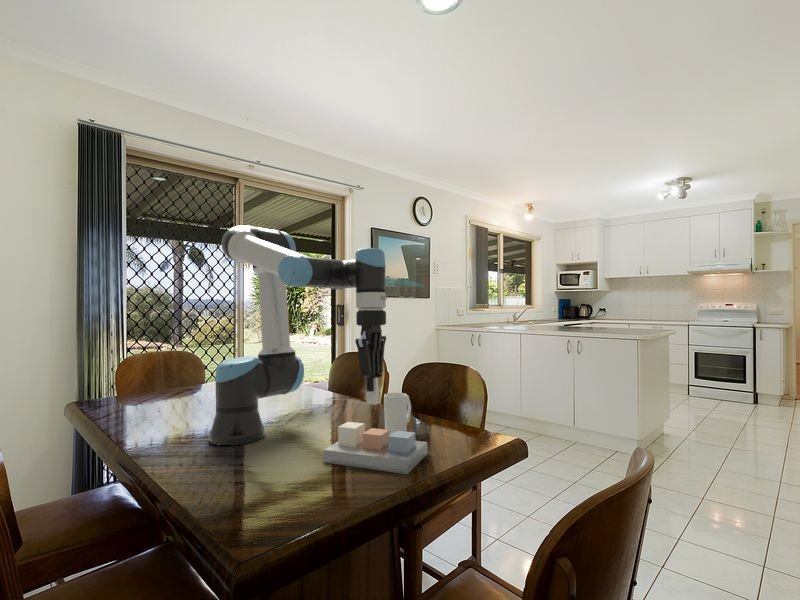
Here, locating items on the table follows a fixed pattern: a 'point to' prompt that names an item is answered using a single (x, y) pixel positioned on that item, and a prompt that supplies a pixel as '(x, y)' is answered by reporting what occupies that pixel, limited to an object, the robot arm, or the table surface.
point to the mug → (396, 412)
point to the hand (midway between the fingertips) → (372, 403)
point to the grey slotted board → (375, 457)
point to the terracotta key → (376, 439)
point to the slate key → (402, 442)
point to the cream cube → (351, 434)
